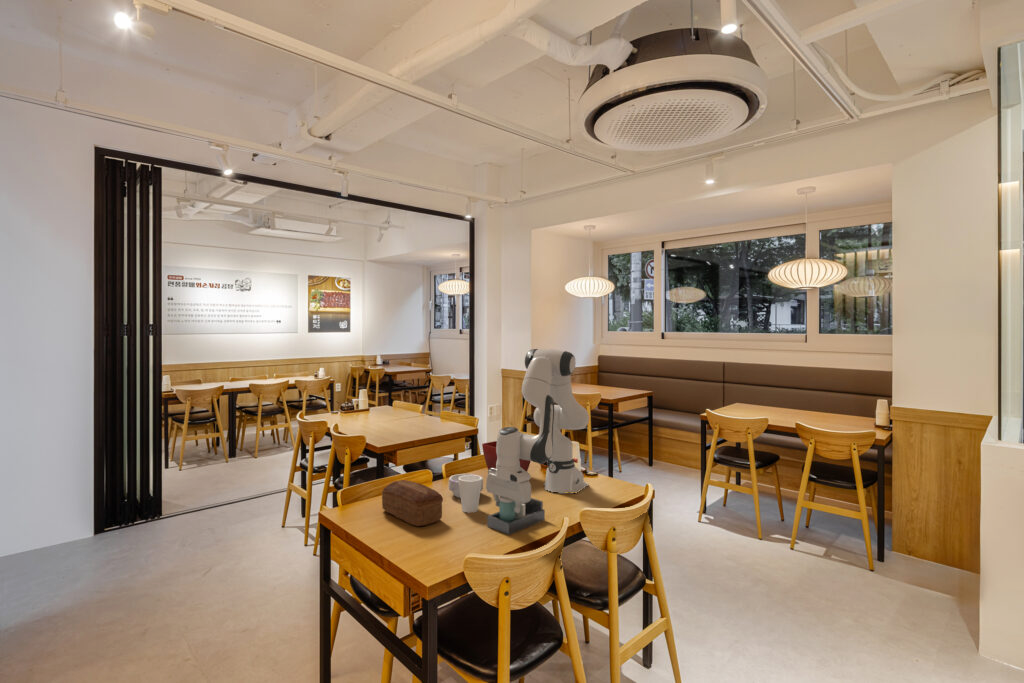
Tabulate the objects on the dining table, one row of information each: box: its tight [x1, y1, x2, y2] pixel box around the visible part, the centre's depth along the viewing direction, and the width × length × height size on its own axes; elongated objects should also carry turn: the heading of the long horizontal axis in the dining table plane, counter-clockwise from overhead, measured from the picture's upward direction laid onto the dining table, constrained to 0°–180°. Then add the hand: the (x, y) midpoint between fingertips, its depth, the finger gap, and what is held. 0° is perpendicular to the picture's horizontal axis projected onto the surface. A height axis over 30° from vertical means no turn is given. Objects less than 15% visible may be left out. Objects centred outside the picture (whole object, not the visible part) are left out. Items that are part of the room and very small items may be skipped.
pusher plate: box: [515, 504, 525, 520], centre depth 184 cm, size 1×8×7 cm, turn 46°
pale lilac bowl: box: [448, 473, 484, 499], centre depth 216 cm, size 15×15×8 cm
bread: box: [381, 479, 444, 527], centre depth 191 cm, size 14×28×12 cm, turn 45°
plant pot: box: [481, 440, 532, 472], centre depth 245 cm, size 19×19×17 cm
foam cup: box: [459, 474, 482, 514], centre depth 198 cm, size 10×9×13 cm
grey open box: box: [486, 497, 546, 536], centre depth 185 cm, size 20×11×7 cm, turn 137°
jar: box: [498, 496, 516, 522], centre depth 181 cm, size 6×6×10 cm
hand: (507, 509), depth 181 cm, fingers open, 8 cm apart
